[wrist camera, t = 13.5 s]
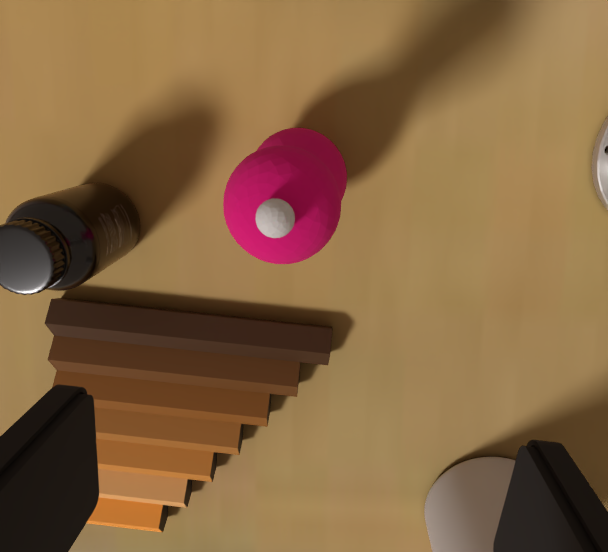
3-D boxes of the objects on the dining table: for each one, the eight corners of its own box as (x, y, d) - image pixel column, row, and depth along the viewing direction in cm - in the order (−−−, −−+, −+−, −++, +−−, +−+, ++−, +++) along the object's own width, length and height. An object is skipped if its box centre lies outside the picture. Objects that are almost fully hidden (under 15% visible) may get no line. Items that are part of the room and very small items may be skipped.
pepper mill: (240, 178, 40) (158, 231, 21) (295, 107, 38) (258, 96, 19) (306, 233, 42) (285, 330, 23) (363, 167, 40) (392, 212, 21)
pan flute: (332, 319, 44) (63, 291, 45) (332, 335, 41) (43, 304, 42) (307, 532, 52) (78, 505, 53) (305, 559, 49) (62, 531, 50)
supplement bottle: (78, 167, 41) (-20, 186, 29) (153, 204, 42) (86, 236, 30) (55, 238, 43) (-45, 281, 32) (127, 272, 44) (54, 326, 32)
